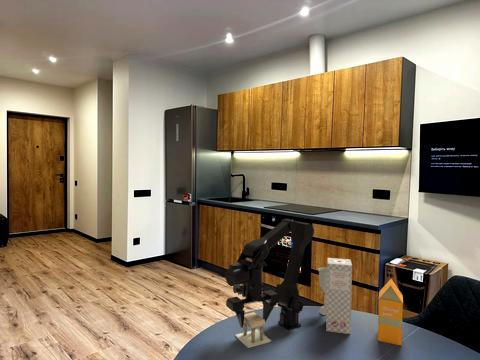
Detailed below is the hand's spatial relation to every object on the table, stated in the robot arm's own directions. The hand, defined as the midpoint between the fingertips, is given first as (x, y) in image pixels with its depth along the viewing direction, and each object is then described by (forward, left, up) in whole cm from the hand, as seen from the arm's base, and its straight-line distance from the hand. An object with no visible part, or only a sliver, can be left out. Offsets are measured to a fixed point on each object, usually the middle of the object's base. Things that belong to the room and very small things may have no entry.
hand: (253, 324), depth 117 cm
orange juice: (-44, +21, -5) cm, 49 cm away
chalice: (-38, -5, -5) cm, 39 cm away
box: (-33, +7, -5) cm, 34 cm away
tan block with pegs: (0, 0, -4) cm, 5 cm away
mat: (0, 0, -5) cm, 5 cm away
